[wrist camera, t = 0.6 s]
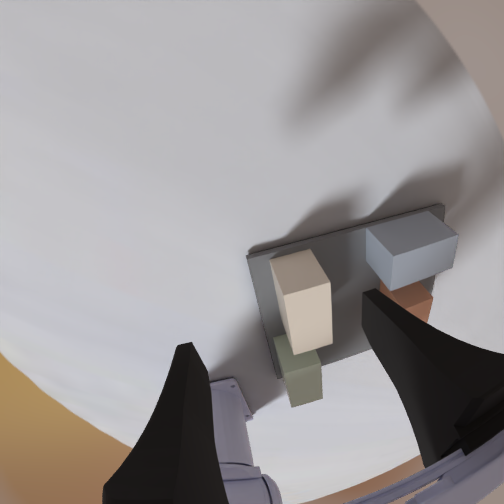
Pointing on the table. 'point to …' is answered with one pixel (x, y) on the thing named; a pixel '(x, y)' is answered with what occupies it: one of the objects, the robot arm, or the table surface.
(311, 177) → the table surface
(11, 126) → the table surface
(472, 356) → the robot arm
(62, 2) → the table surface
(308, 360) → the sage brick
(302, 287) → the cream brick
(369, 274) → the mat
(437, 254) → the bluegrey brick
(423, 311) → the terracotta brick
